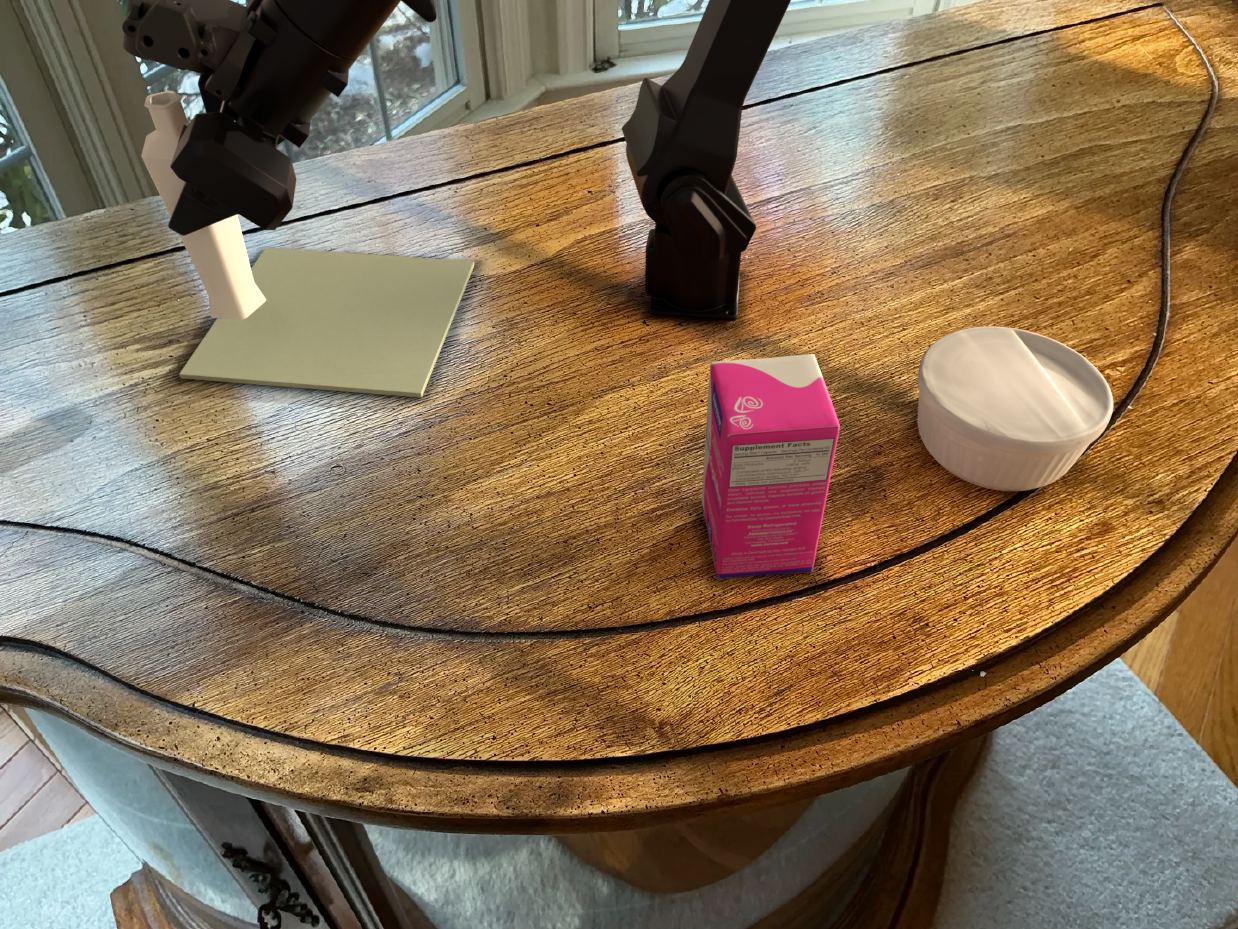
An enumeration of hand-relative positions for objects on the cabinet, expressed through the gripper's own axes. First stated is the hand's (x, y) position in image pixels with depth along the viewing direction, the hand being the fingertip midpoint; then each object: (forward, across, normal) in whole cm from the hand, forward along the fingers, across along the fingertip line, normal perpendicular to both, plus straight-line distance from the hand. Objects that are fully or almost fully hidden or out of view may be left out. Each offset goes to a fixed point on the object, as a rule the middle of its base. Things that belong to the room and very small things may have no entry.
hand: (181, 210), depth 64 cm
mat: (+2, -1, +13) cm, 13 cm away
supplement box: (-15, +25, +31) cm, 42 cm away
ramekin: (-27, +19, +43) cm, 54 cm away
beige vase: (+4, 0, +6) cm, 8 cm away
